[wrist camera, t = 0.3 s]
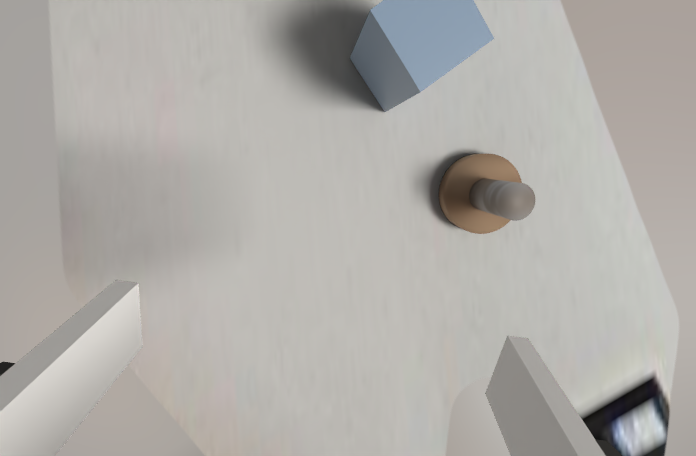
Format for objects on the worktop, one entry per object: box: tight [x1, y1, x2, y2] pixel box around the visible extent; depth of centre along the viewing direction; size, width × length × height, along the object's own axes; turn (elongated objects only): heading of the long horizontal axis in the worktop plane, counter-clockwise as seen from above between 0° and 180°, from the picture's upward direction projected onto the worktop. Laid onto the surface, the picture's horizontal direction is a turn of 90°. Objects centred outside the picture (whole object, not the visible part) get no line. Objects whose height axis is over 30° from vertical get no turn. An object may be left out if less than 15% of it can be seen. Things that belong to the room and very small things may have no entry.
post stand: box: [439, 154, 535, 234], centre depth 35 cm, size 8×8×8 cm
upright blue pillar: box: [350, 0, 494, 112], centre depth 30 cm, size 6×6×12 cm
